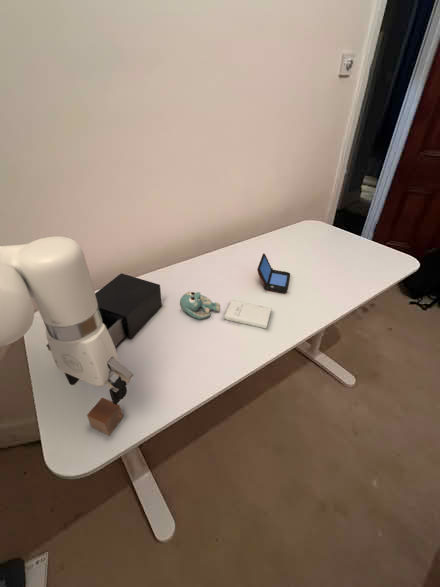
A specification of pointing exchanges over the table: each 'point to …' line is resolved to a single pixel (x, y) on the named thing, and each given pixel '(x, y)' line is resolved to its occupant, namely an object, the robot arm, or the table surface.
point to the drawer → (114, 326)
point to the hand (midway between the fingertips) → (98, 388)
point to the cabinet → (130, 301)
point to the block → (105, 416)
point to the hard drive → (248, 314)
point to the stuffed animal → (197, 305)
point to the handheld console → (273, 277)
